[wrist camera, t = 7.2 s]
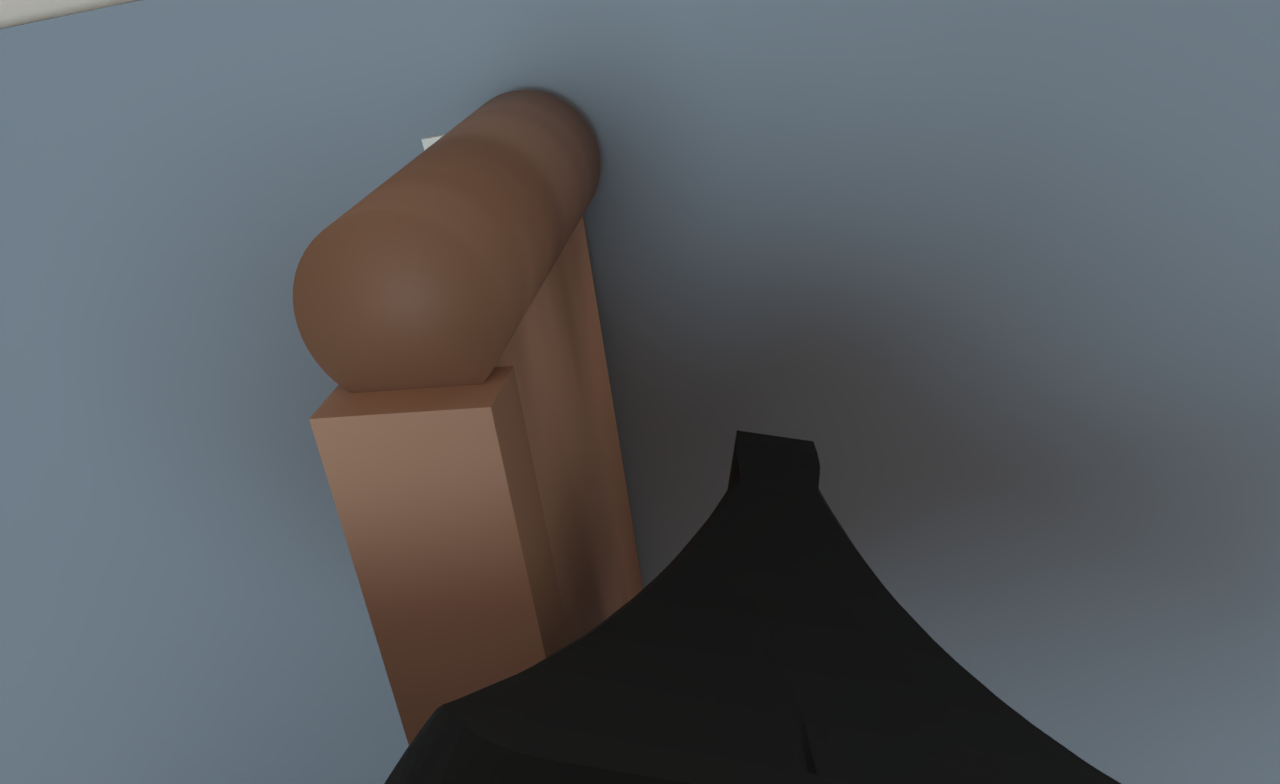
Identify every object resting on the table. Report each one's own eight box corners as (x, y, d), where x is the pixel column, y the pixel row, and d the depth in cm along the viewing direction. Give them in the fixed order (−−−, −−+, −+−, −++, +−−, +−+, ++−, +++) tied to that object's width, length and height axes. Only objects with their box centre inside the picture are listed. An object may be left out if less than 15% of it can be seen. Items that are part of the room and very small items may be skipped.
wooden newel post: (707, 867, 16) (678, 1227, 12) (607, 866, 17) (544, 1217, 12) (588, 81, 11) (463, 217, 7) (446, 99, 11) (240, 239, 7)
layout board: (1558, 1077, 17) (1578, 1109, 17) (156, 1058, 22) (142, 1083, 22) (2005, -384, 9) (2071, -399, 8) (-420, 115, 14) (-461, 124, 13)
